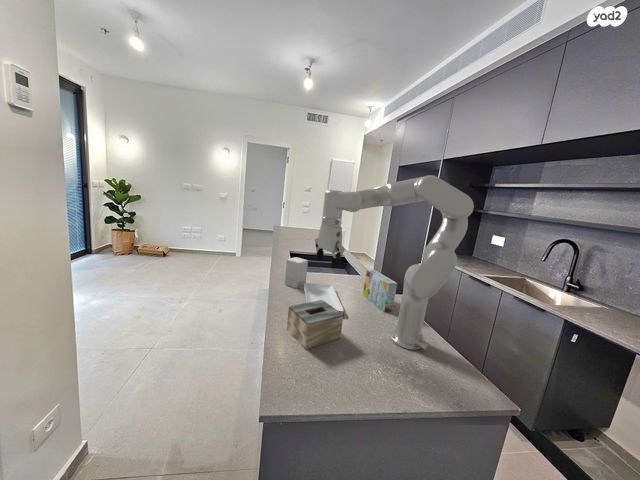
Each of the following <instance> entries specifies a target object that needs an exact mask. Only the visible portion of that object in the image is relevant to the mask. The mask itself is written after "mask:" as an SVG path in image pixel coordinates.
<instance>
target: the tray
mask: <svg viewBox="0 0 640 480" xmlns="http://www.w3.org/2000/svg"><path fill="white" fill-rule="evenodd" d="M303 289H304V295H305V301H306V302H305V303H308V302H313V301H319V300H323V301H325V302H326V303H328V304H329V305H330V306H332V307H333V308H335V309H336V310H338V311H339V312H340V313H343V312H344V311H345V309H344V307H343V305H342V303H341V301H340V299H339V296H338V294H337V293H336V292H337V291H336V290H335V287H334V286H333V285H331V284H322V283H320V284H319V283H309V282H306V283H304V286H303Z"/></svg>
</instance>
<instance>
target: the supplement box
mask: <svg viewBox="0 0 640 480" xmlns="http://www.w3.org/2000/svg"><path fill="white" fill-rule="evenodd" d="M308 265H309V260H307V259H304V258H301V257H297V256H296V257H295V256H294V257H291V258H287V259H286V265H285V274H284V275H285V276H284V285H285V286H287V287H291V288H293V289H299V288H302V287H304V283H307V274H308V273H307V272H308Z"/></svg>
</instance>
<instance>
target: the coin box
mask: <svg viewBox="0 0 640 480" xmlns="http://www.w3.org/2000/svg"><path fill="white" fill-rule="evenodd" d="M343 321H344V314H343V312H339V311H338V310H336V309H335V308H333V307H332V306H330V305H329V304H328V303H326V302H325V301H323V300H319V301H313V302H308V303H307V302H304V303H299V304H293V305H289V306H288V312H287V321H286V322H287V324H286V331H288V333H289V334H290V335H291V336H292V337H293V338H294V339H295V340H296V341H297V342H298V343H299V345H301V346H302V347H303V348H304V350H308V349H310V347H311V348H314V347H317V345H318V346H321V345H323V344H327V343H329V342H333V341H336V340H340V339H341V335H342V328H343ZM320 344H321V345H320ZM313 346H314V347H313ZM307 348H308V349H307Z"/></svg>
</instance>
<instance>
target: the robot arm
mask: <svg viewBox="0 0 640 480" xmlns="http://www.w3.org/2000/svg"><path fill="white" fill-rule="evenodd" d="M424 201H425V202H426V203H427V204H429V205H431V206H432V207H434V208H435V209H436V210H438V211H440V213H441V215H442V222H441V224H440V227H439V228H438V230H437V232H436V233H435V234H434V235H433V237H432V238H431V240H430V241H429V242H428V244H427V245H426V246H425V247H424V249H423V252H422V258H423V260H424V261H423V262H422V263H421V264H420V263H415V264H413V265H410V266H409V267H408V268H407V270H406V272H405V274H404V280H403V290H402V296H401V299H400V306H399V311H398V317H397V323H396V328H395V329H394V330H393V331H391V333H390V338H391V341H392V342H393V343H395V344H396V345H397V346H399V347H401V348H404V349H405V350H406V349H407V350H413V351H414V350H415V351H417V350H420V349H423V350H424V351H426V350H428V348H429V344H430V343H429V342H428V341H426V340H424V334H422V330H423V328H424V327H423V326H424V322H425V318H426V317H425V316H426V313H427V307H428V303H429V299H430V298H432V297H433V296H435V295H436V294H437V293H438V292H439V290H441V287H443V286H444V284H445V283H446V282H447V280H448V279H449V277H450V276H451V274H452V273H453V272H454V270H456V267H457V263H458V257H457V254H456V252H455V251H456V249H457V248H458V246H459V245H460V243H461V241H462V240H463V238H464V237H465V235H466V233H467V231H468V225H469V222H468V221H469V218H468V217H469V216H471V214H472V213H473V212H474V208H475V206H474V201H473V199H472V198H471V197H470V196H469V195H468V194H466V193H465V192H463V191H461V190H460V189H458V188H456V187H455V186H453V185H451V184H450V183H448V182H447V181H445V180H443V179H441V178H440V177H438V176H436V175H431V174H430V175H429V174H428V175H425V176H421V177H415V178H410V179H405V180H400V181H395V182H390V183H386V184H383V185H380V186H377V187H376V186H375V187H372V188H367V189H362V190H358V191H357V190H356V191H342V190H337V189H335V190H334V189H327V190H326V191H325V193H324V199H323V208H322V217H321V224H320V228H319V233H318V237H316V238H315V239H314V242H315V248H316V249H315V250H316V256H315V257H316V258H315V261H316V262H319V261H320V262H321V261H324V253H325V251H327V252H329V253H331V254H332V257H331V264H330V267H331V269H334V268H339V261H340V258H341V257H342V256H343V254H344V252H345V247H343V229H342V224H343V222H342V217H343V212H344V211H346V212H349V213H356V212H358V211H361V210H365V209H371V208H376V207H378V208H379V207H395V206H400V205H406V204H407V205H408V204H412V203H417V202H418V203H419V202H424Z"/></svg>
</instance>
